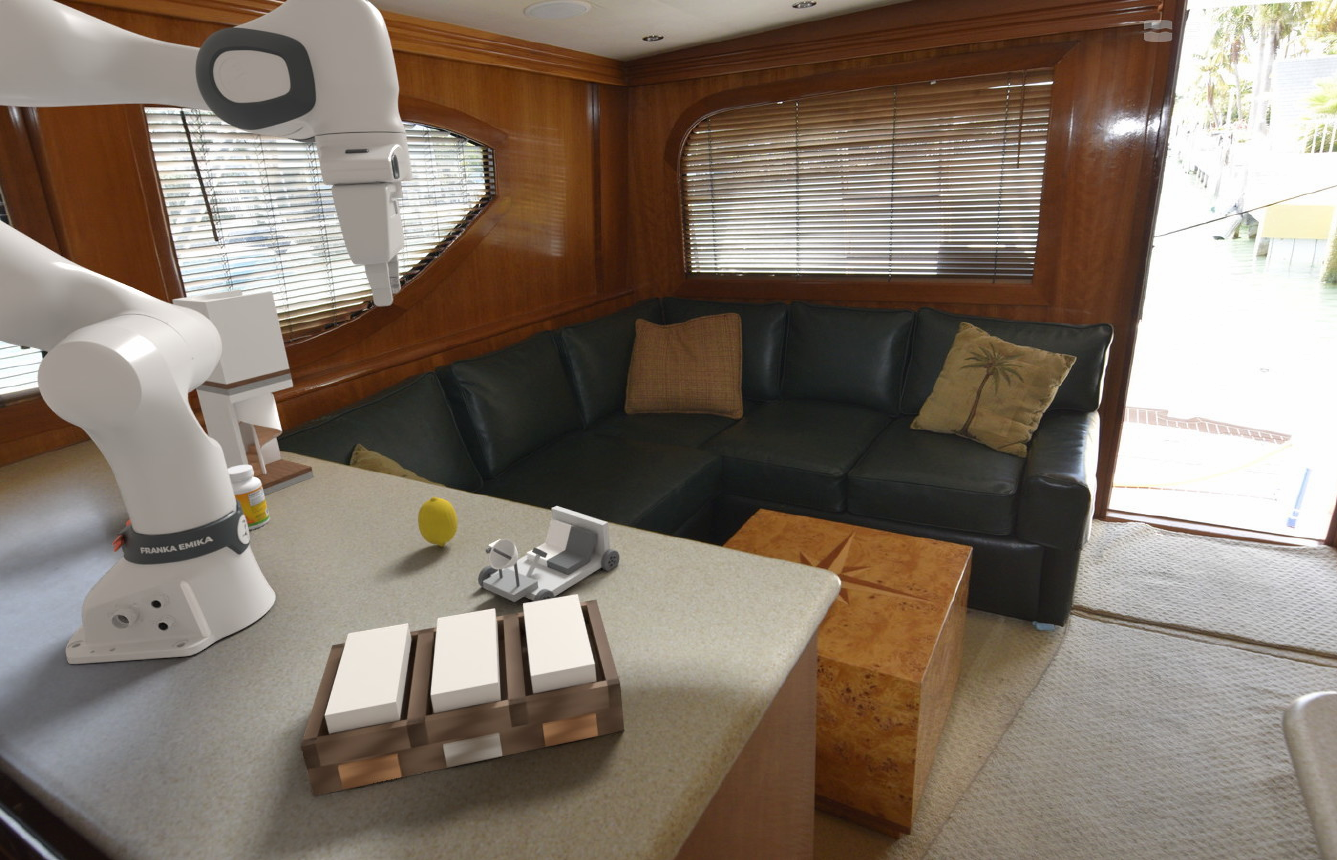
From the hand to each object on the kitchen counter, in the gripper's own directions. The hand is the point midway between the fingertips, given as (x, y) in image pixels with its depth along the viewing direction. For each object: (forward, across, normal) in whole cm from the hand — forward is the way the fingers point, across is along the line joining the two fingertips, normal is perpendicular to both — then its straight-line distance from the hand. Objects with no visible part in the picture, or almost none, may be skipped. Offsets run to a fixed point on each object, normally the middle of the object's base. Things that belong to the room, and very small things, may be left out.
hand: (388, 298), depth 82 cm
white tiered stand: (+40, -57, -33) cm, 77 cm away
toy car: (+40, -3, +13) cm, 42 cm away
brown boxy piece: (+39, +21, +4) cm, 45 cm away
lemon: (+40, -18, 0) cm, 44 cm away
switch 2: (+34, +21, +4) cm, 40 cm away
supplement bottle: (+40, -38, -31) cm, 63 cm away
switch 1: (+34, +21, -5) cm, 40 cm away
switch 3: (+34, +21, +13) cm, 42 cm away
